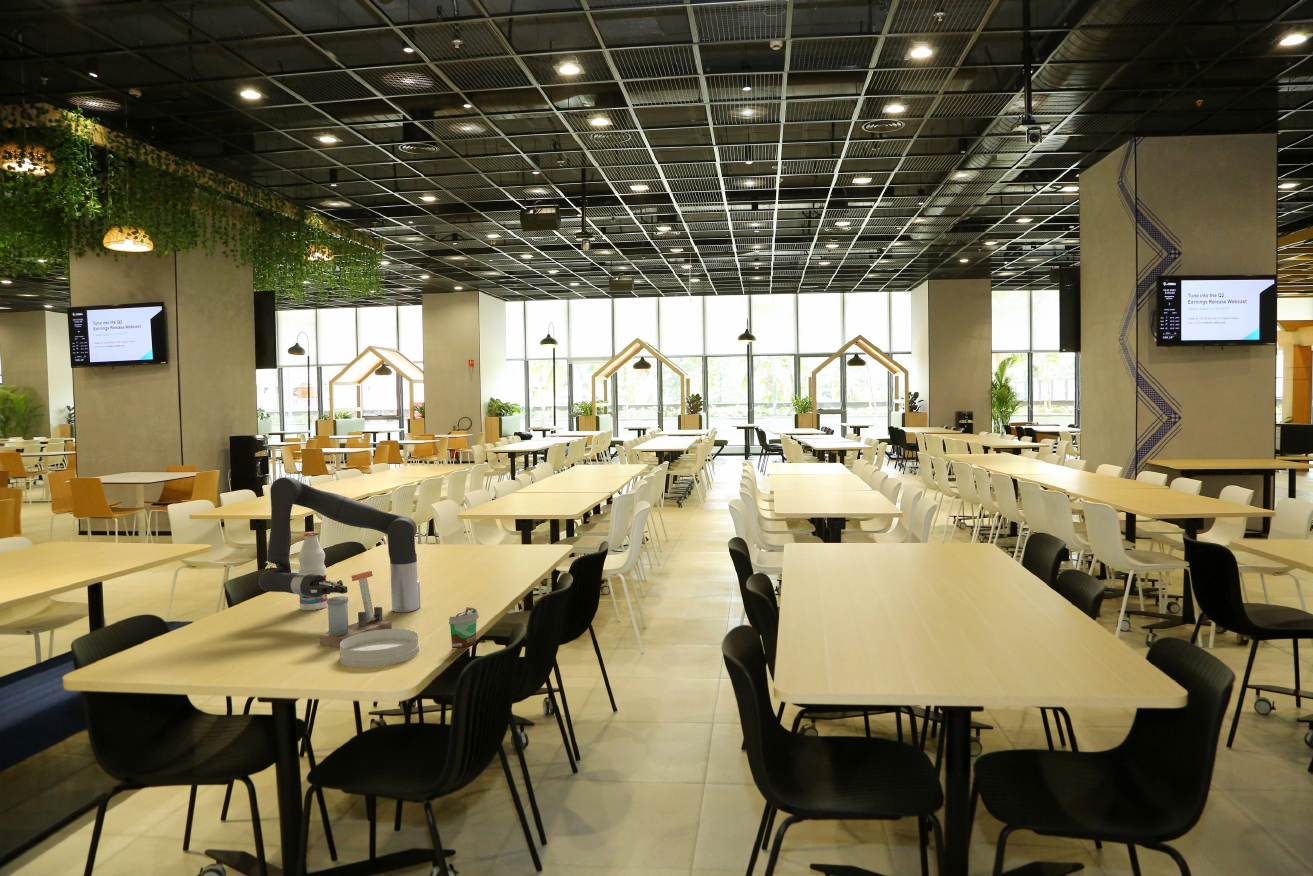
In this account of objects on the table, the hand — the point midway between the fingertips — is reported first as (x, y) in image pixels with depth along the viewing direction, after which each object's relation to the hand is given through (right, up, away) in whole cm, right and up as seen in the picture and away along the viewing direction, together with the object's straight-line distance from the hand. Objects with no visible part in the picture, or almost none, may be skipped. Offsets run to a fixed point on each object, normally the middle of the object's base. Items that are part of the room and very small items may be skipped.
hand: (345, 590), depth 262 cm
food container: (+45, -13, -20) cm, 51 cm away
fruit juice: (-24, -13, +32) cm, 42 cm away
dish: (+21, -14, -28) cm, 38 cm away
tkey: (+10, -9, -4) cm, 14 cm away
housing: (+7, -13, -9) cm, 18 cm away
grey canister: (+4, -11, -16) cm, 19 cm away
